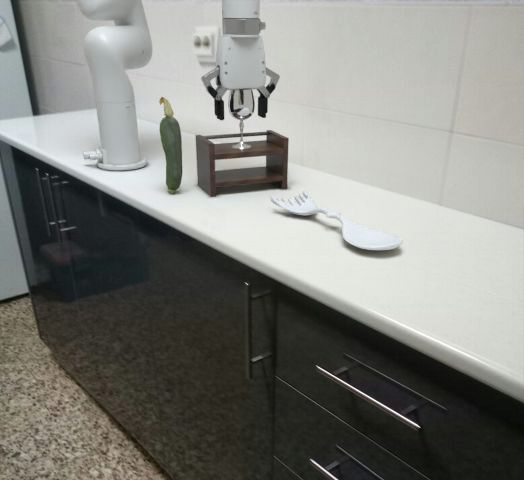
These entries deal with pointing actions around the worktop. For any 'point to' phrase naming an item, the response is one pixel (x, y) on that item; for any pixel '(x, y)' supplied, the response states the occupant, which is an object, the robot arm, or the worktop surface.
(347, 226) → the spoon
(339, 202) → the worktop surface
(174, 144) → the vegetable
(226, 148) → the rack
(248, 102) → the wineglass
